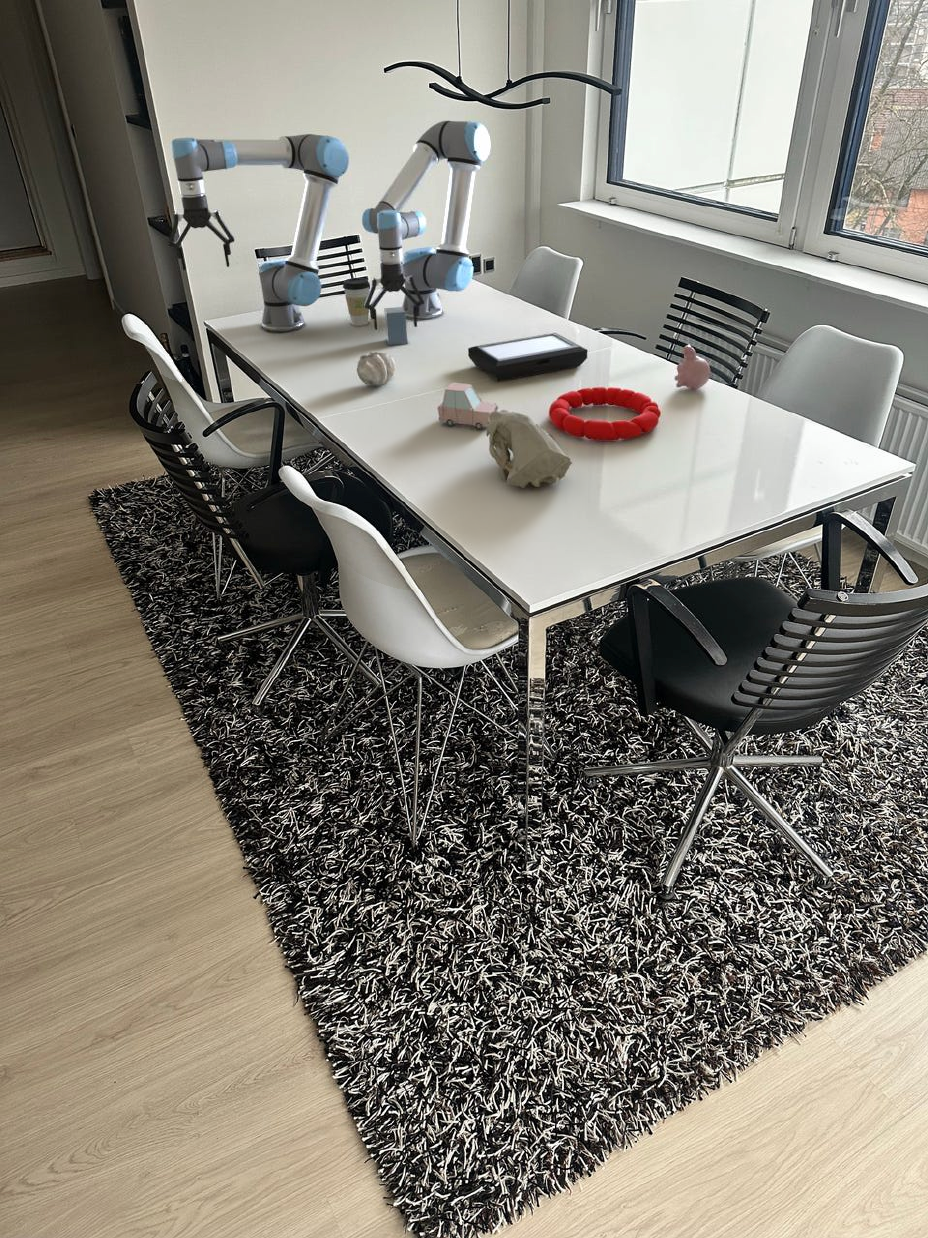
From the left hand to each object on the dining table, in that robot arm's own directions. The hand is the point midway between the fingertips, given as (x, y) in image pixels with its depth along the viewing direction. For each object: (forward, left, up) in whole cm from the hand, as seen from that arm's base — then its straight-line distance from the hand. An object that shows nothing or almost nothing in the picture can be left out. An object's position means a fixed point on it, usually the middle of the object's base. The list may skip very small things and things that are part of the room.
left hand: (206, 267), depth 285 cm
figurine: (+70, +138, -28) cm, 158 cm away
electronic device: (+38, +97, -28) cm, 108 cm away
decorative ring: (+88, +106, -28) cm, 141 cm away
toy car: (+80, +70, -28) cm, 110 cm away
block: (+2, +59, -28) cm, 66 cm away
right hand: (+2, +59, -23) cm, 64 cm away
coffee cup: (-24, +49, -28) cm, 61 cm away
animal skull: (+112, +77, -28) cm, 139 cm away
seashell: (+43, +49, -28) cm, 71 cm away
